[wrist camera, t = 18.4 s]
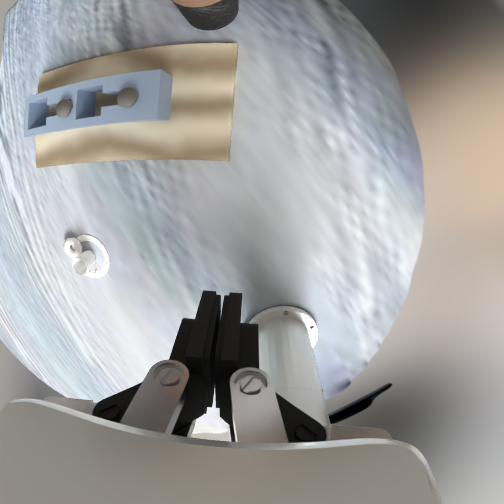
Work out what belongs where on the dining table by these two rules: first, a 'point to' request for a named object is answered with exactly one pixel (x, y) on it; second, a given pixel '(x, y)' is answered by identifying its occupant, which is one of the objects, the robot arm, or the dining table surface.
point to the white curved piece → (86, 256)
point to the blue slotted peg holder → (84, 103)
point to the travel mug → (208, 12)
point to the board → (149, 132)
